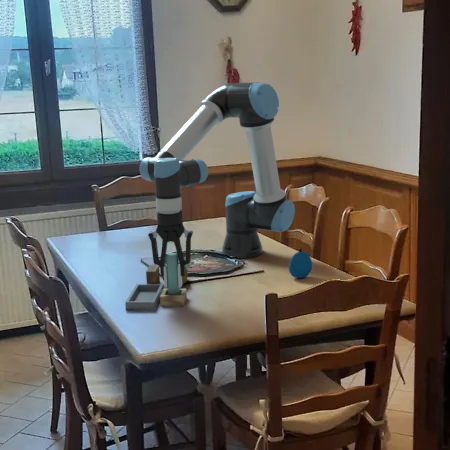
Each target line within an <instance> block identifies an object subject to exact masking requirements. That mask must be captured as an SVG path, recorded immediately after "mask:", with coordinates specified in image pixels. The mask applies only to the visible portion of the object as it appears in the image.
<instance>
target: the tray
mask: <svg viewBox="0 0 450 450" xmlns="http://www.w3.org/2000/svg"><path fill="white" fill-rule="evenodd" d="M164 289H165V286H164V284H163V283H159V284H147V283H140V284H137V283H136V285H135V286H134V288H133V289H132V291H131V292H130V294H129V296H128V297H127V299H126V301H124V303H125V304H124V305H125V311H155V310H156V308H157V306H158V303H160V296H161V294H162V292H163V290H164Z"/></svg>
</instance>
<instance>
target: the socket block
mask: <svg viewBox="0 0 450 450" xmlns="http://www.w3.org/2000/svg"><path fill="white" fill-rule="evenodd" d="M187 294H188V293H187V288H180V295H168V288H164V290H163V292H162V294H161V296H160V300H159V303H160V307H165V306H166V307H168V306H169V307H173V306H174V307H177V306H178V307H179V306H180V307H181V306H182V307H183V306H185V303H186V302H187V297H188V295H187Z"/></svg>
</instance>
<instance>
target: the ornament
mask: <svg viewBox="0 0 450 450" xmlns="http://www.w3.org/2000/svg"><path fill="white" fill-rule="evenodd" d="M312 270H313V262H312V258H311V256H310V255H309V253H307V252H306V251H304V250H303V251H302V248H299V251H297V252H295V253H294V254H293V255H292V257H291V259H290V261H289V263H288V273H289V274H290V275H291V276H292V277H293V278H295V279H296V278H297V279H303V278H306V277H308V276H309V275H310V274H311V272H312Z"/></svg>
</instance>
